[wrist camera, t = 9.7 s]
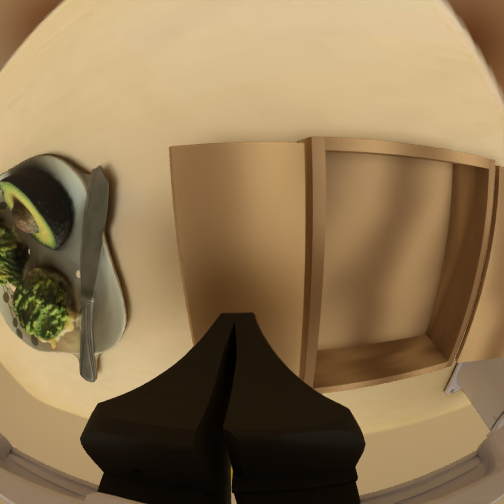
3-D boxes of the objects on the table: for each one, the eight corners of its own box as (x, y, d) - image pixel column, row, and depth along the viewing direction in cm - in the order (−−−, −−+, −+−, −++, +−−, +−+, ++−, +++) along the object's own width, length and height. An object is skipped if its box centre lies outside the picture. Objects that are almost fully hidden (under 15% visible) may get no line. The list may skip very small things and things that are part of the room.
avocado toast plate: (175, 371, 22) (163, 411, 17) (36, 362, 22) (16, 387, 18) (113, 128, 16) (75, 122, 11) (-24, 192, 16) (-56, 202, 12)
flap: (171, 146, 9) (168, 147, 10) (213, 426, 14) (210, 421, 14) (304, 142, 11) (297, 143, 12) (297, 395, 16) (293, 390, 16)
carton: (453, 155, 16) (494, 160, 11) (426, 335, 20) (451, 365, 16) (296, 142, 16) (311, 136, 11) (294, 353, 20) (302, 395, 16)
